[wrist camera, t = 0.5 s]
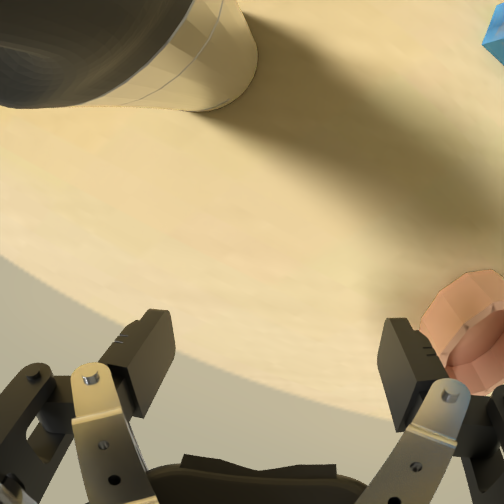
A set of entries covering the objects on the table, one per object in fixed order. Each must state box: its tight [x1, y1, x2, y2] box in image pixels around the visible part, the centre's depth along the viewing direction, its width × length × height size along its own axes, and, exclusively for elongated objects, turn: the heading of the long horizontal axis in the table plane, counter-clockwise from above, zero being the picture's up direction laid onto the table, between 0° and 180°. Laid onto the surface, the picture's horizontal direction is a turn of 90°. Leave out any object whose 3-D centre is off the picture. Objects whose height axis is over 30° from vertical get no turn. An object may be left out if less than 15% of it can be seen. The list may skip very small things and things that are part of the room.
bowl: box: [419, 269, 504, 396], centre depth 27 cm, size 13×13×6 cm
